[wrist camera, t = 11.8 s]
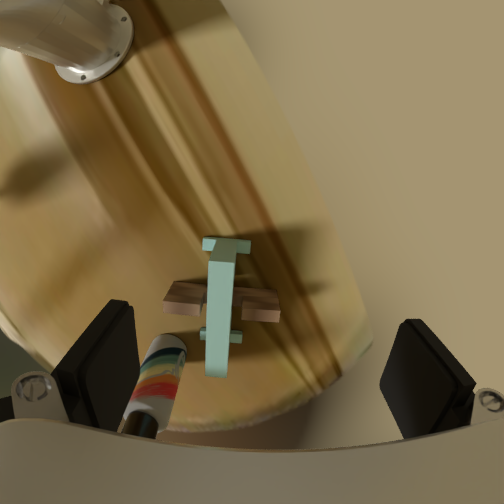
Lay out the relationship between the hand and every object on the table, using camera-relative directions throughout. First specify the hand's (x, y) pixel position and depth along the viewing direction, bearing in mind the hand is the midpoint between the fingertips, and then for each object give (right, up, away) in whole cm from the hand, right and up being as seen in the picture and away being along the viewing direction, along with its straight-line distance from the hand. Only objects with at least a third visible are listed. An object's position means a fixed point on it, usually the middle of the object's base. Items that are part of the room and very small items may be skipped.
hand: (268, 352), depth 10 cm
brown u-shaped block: (-4, -2, +32) cm, 33 cm away
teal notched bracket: (-4, -2, +32) cm, 33 cm away
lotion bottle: (-13, -11, +35) cm, 39 cm away
